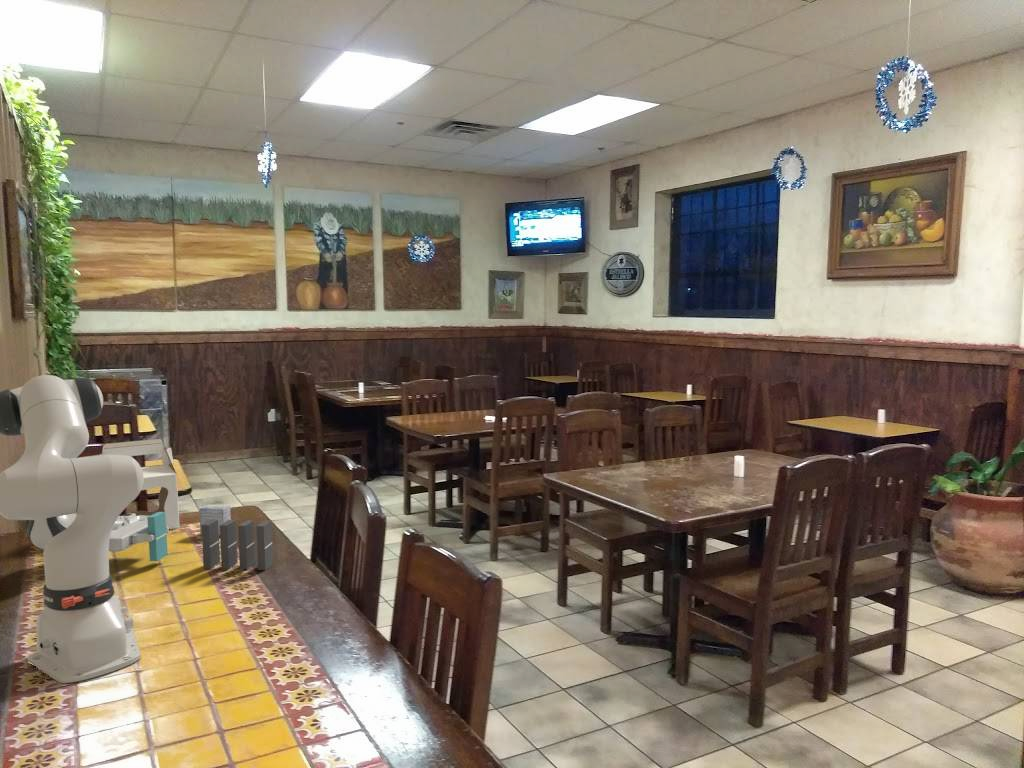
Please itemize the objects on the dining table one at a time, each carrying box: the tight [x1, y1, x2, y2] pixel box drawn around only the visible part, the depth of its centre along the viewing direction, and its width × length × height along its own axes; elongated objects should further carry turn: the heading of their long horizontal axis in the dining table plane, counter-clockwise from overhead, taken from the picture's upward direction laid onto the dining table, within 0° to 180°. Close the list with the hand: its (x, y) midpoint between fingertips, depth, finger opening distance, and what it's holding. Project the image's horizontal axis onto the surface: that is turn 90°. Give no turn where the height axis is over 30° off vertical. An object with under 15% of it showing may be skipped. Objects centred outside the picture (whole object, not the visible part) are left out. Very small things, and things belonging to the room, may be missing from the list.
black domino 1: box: [201, 519, 221, 570], centre depth 191 cm, size 2×5×12 cm, turn 175°
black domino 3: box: [237, 519, 257, 570], centre depth 191 cm, size 2×5×12 cm, turn 175°
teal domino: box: [147, 512, 169, 562], centre depth 192 cm, size 2×5×12 cm, turn 175°
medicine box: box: [198, 504, 232, 537], centre depth 219 cm, size 8×4×9 cm, turn 84°
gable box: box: [93, 438, 180, 530], centre depth 223 cm, size 22×13×28 cm, turn 124°
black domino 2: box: [219, 519, 239, 570], centre depth 191 cm, size 2×5×12 cm, turn 175°
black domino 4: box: [255, 520, 274, 571], centre depth 190 cm, size 2×5×12 cm, turn 175°
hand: (160, 534), depth 192 cm, fingers closed on teal domino, 5 cm apart
